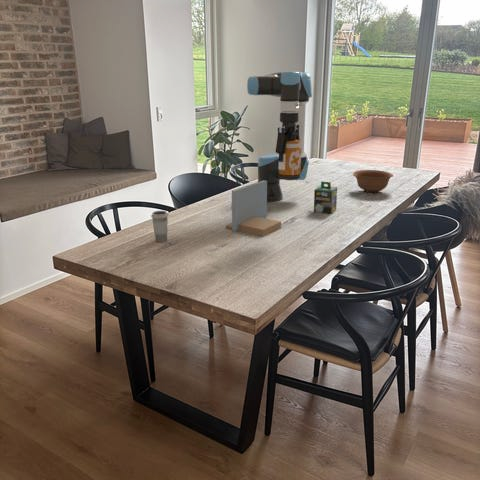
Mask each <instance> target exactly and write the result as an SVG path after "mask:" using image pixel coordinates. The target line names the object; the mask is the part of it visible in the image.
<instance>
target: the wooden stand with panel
mask: <svg viewBox="0 0 480 480" xmlns="http://www.w3.org/2000/svg"><path fill="white" fill-rule="evenodd" d="M267 205H268V201H267V181H264V180H263V181H260V182H258V181H257V182H255V183H251V184H248V185H245V186H242V187H239V188H234V189H233V190H231V222H230V223H228V224H226V225H225V229H229V230H231V231H232V232H234V233H236V232H238V231H239V232H243V233H248V234H251V235H256V236H260V237H265V236H268V235H269V234H272V233H273V232H274V233H275V232H276V231H277V230H280V229H281V228H282V221H280V220H275V219H271V218H268V216H267V213H268V212H267V211H268V209H267V208H268V207H267Z"/></svg>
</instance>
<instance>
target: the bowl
mask: <svg viewBox="0 0 480 480" xmlns="http://www.w3.org/2000/svg"><path fill="white" fill-rule="evenodd" d="M352 175H353V177H355V179H356V182H357V186H358V187H359V189H361V190H363V193H364V194H367V195H378V194H380V192H381V191H383V190H385V189H386V188H387V186H388V185H389V181H390V179H391V178H393V177H394V174H393V173H391V172H388V171H385V170H377V169H359V170H356V171H354V172H352Z"/></svg>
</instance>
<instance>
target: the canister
mask: <svg viewBox="0 0 480 480" xmlns="http://www.w3.org/2000/svg"><path fill="white" fill-rule="evenodd" d="M290 133H291V134H290V137H289V138H288V141H287V144H286V149H285V152H284V154H286V157H285V170H281V169H279V178H282V179H283V180H284V181H297V180H296V179H298V178H300V169H301V148H300V141H299V140H296V139H295V138H296V136H298V135H299V134H298V133H297V132H296V131H295V132H294V131H292V132H290Z"/></svg>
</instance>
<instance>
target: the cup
mask: <svg viewBox="0 0 480 480" xmlns="http://www.w3.org/2000/svg"><path fill="white" fill-rule="evenodd" d="M150 217H151V218H152V226H153V232H154V233H153V234H154V239H155V242H156V243H166V242H167V241H168V223H169V222H168V217H169V214H168V211H166V210H155V211H153V212H152V214H150Z"/></svg>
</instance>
